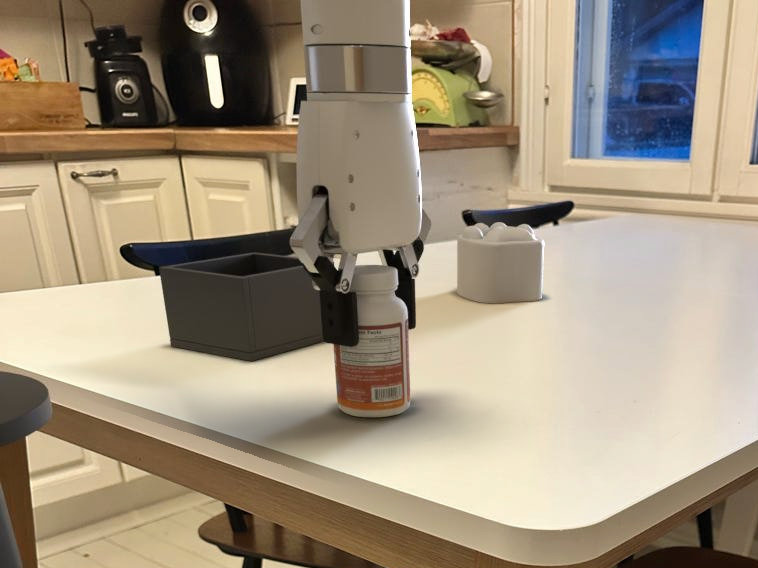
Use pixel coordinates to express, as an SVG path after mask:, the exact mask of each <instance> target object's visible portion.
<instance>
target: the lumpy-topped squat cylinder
mask: <svg viewBox="0 0 758 568" xmlns="http://www.w3.org/2000/svg"><path fill="white" fill-rule="evenodd" d="M544 257H545V240H544V239H543V238H542V237H539V236H535V234H534V230H533V229H532V227H531V226H530V225H529V224H527V223H522V224H519V225H517V226H509V225H506V224H505V223H504V222H500V221H498V222H497V221H496V222H494V223H493V224H492V225H490V227H489V225H487V224H485V223H483V222H478V223H476V224H474V225H469V226H467V227H465V228H464V230H463V232H462V233H460V234H459V235H458V236H457V240H456V265H457V266H456V268H457V269H456V273H457V274H456V285H457V286H456V291H457V292H456V293H457V295H458V296H460V297H462V298H465V299H467V300H470V301H473V302H478V303H482V304H483V303H484V304H504V303H517V302H534V301H535V302H536V301H540V300H542V299H543V284H544V283H543V281H544V261H545V260H544V259H545V258H544Z"/></svg>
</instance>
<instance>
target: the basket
mask: <svg viewBox="0 0 758 568" xmlns="http://www.w3.org/2000/svg"><path fill="white" fill-rule="evenodd" d="M332 264H333V265H334V266H335V261H333V263H332ZM158 271H159V277H160V283H161V289H162V296H163V303H164V308H165V309H164V310H165V316H166V322H167V328H168V335H169V342H170V346H171V347H175V348H180V349H184V350H188V351H189V350H190V351H195V352H200V353H206V354H211V355H216V356H222V357H227V358H232V359H237V360H243V361H249V362H254V361H257V360H260V359H265V358H267V357H272V356H275V355H279V354H283V353H286V352H290V351H294V350H297V349H300V348H305V347H308V346H311V345H315V344H318V343H322V342H325V341H324V340H323V334H322V321H321V307H320V294H319V290H316V289H315V288H314V287H313V284H312V278H311V277H310V276H309V275H308V274H307V272H306V271H305V270H304V268H303V263H301V261H300V260H299V258H298V257H297V256H289V255H281V254H273V253H263V252H247V253H242V254H235V255H229V256H222V257H217V258H216V257H214V258H209V259H202V260H195V261H189V262H184V263H178V264H170V265H165V266H159V267H158Z"/></svg>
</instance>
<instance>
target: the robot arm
mask: <svg viewBox="0 0 758 568" xmlns="http://www.w3.org/2000/svg"><path fill="white" fill-rule="evenodd" d="M299 1H300V16H301V30H302V42H303V45H302V46H303V60H304V71H305V72H304V73H305V87H306V100H300V107H299V113H298V124H297V134H296V135H297V138H296V169H295V170H296V203H297V206H296V207H297V220H298V221H297V223H298V224H297V226H296V227H295V228H294V231H293V232H292V234H291V235H290V237H289V246H290V248H291V250H292V251H293V253H294V254H295V255H296V257H298V258H299V260H300V261H301V263H303V268H304V270H305V271H306V272H307V274H308V275H309V276H310V277H311V278H312V284H313V287H314V288H315V289H316V290H319V294H320V307H321V321H322V334H323V340H324V341H323V342H324V343H326V344H330V345H333V344H336V345H342V346H348V347H353V346H357V345H358V343H359V330H358V312H357V296H356V292H351V291H349V290H350V286H351V282H352V277H353V273H354V269H355V266H356V264H357V260H358V255H360V254H365V253H372V252H378V256H379V258H380V261H381V265H384V266H390V267H394V268H396V269H397V272H398V285H397V287H398V288H397V289H396V290H395V296H396V297H398V298H400V299H401V300H402V301H403V302H404V303H405V305H406V307H407V312H408V331H411V330H414V329H416V327H417V310H416V309H417V308H416V307H417V306H416V279H415V278H417V277H418V276H419V274H420V265H419V262H420V260H421V259H422V258H421V257H422V256H423V253H424V251H425V243H426V241H427V239H428V236H429V233H430V231H431V229H432V220H431V218H430V217H429V215H428V213H427V212H426V211H425V209H424V208H423V207H422V206H423V205H422V204H423V203H422V180H421V166H420V165H421V164H420V154H419V145H418V135H417V129H416V121H415V113H414V109H413V103H412V102H413V99H412V58H411V55H412V54H411V18H410V16H411V15H410V0H299ZM394 252H395V253H394ZM334 259H337V260H338V259H339V263H338V268H336V267H335V264H334V265H333V264H332V263H333V262H334Z"/></svg>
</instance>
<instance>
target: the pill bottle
mask: <svg viewBox="0 0 758 568" xmlns="http://www.w3.org/2000/svg"><path fill="white" fill-rule="evenodd" d="M397 285H398V272H397V269H396V268H394V267H390V266H384V265H382V264H357V265H356V264H355V269H354V273H353V277H352V282H351V286H350V290H349V291H351V292H356V296H357V312H358V330H359V343H358V345H357V346H353V347H348V346H342V345H336V344H332V345H333V359H334V360H333V361H334V372H335V373H334V375H335V389H336V400H337V401H336V402H337V406H338V408H339V410H340V411H342V412H343V413H345V414H346V415H349V416H352V417H359V418H360V417H361V418H386V417H391V416H396V415H399V414H402V413H404V412H405V411H407V410H408V409H409V407H410V406H411V377H410V376H411V375H410V373H411V372H410V344H409V343H410V342H409V341H410V339H409V330H408V312H407V307H406V305H405V303H404V302H403V301H402V300H401V299H400V298H398V297H396V296H395V290H396V289H397V288H398V287H397Z"/></svg>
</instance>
